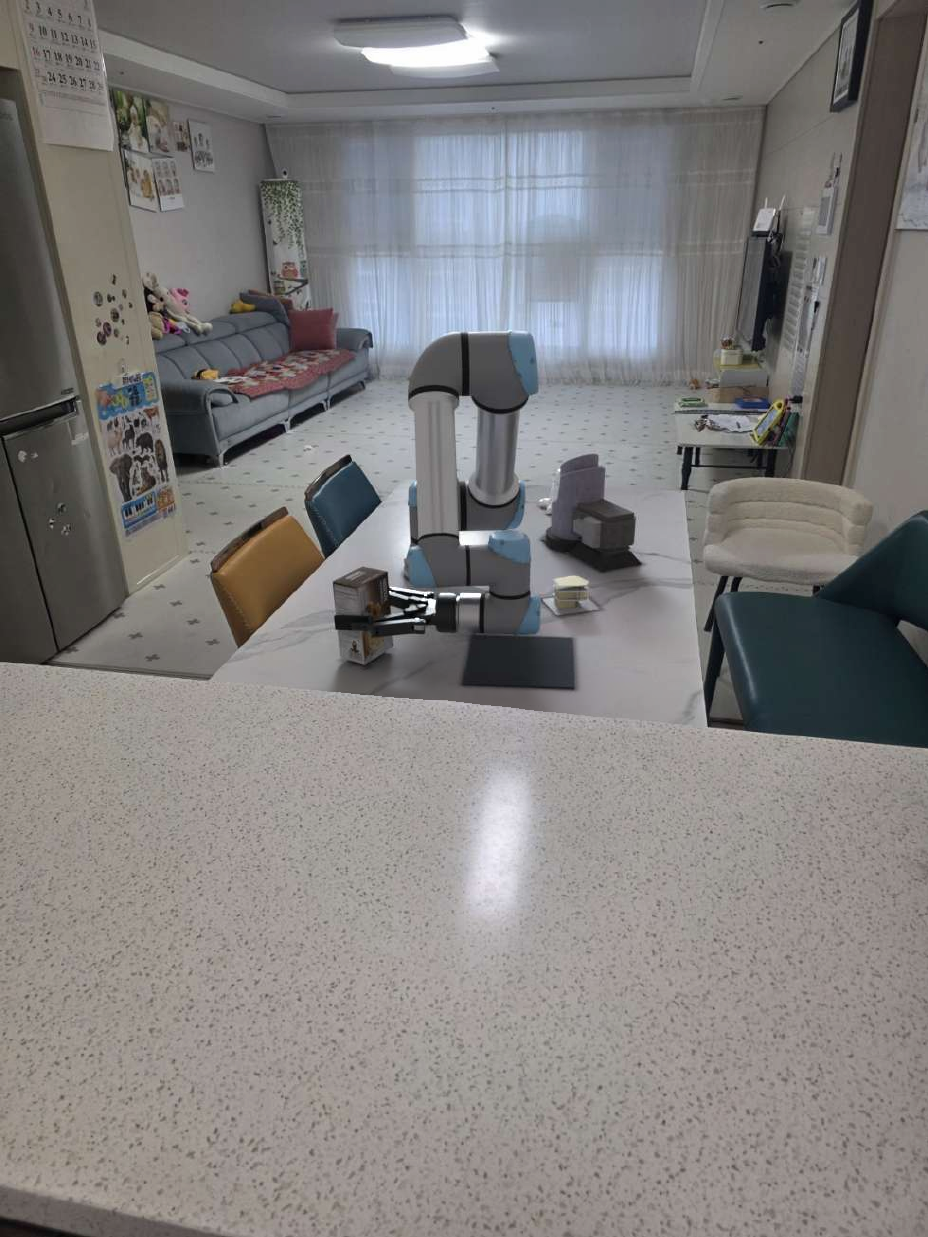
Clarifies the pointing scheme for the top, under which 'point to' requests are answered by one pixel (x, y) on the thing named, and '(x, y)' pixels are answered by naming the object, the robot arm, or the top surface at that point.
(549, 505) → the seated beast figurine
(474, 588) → the light grey tapered cylinder
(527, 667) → the mat
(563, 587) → the stacked layers on plate
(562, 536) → the coffee machine
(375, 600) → the coffee box
